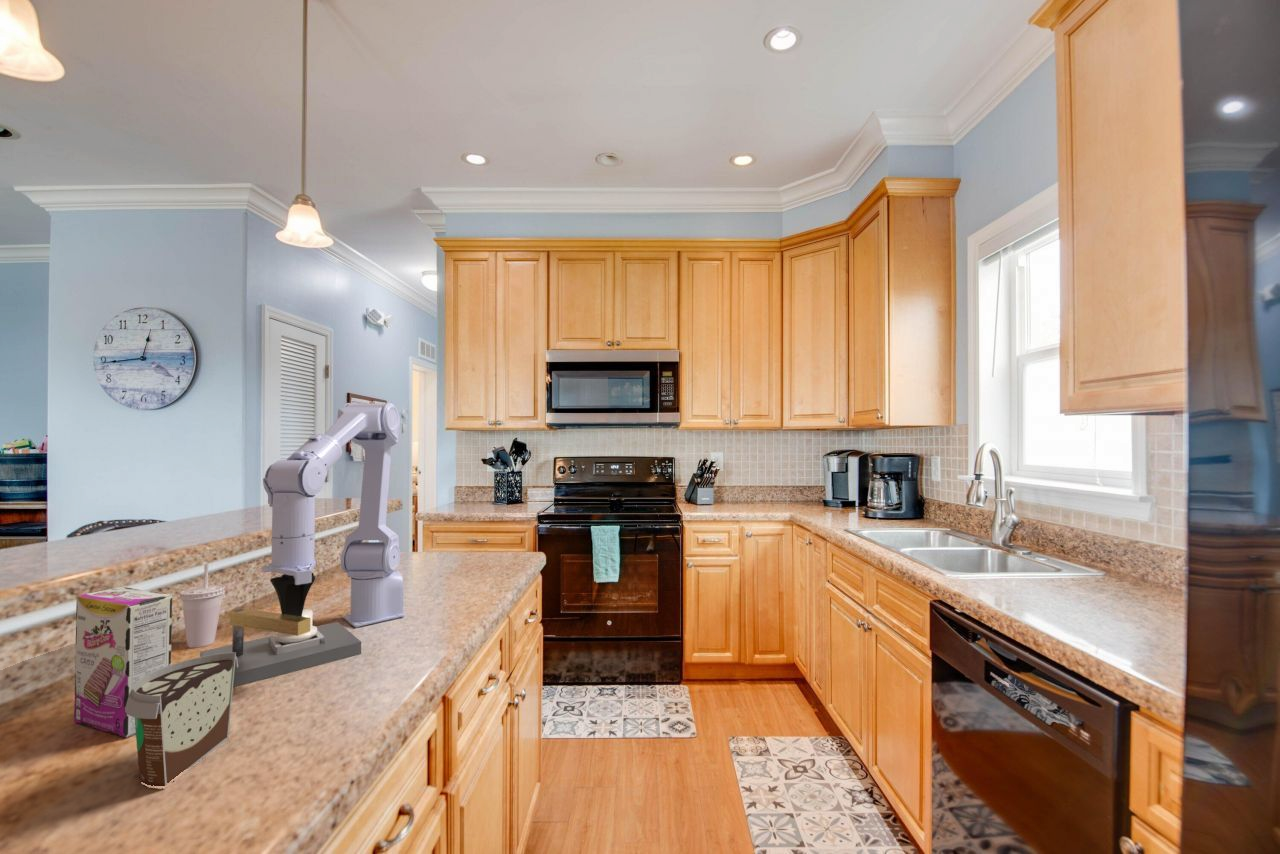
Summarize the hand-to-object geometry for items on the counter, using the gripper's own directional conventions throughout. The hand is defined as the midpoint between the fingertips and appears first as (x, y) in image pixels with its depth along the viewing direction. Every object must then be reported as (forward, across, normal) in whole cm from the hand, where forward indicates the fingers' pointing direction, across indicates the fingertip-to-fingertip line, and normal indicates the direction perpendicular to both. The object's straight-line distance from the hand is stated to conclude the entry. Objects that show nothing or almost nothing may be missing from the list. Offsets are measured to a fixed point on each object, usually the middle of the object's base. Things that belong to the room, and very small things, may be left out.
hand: (292, 621), depth 83 cm
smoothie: (+8, -24, -9) cm, 27 cm away
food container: (+8, +19, -15) cm, 25 cm away
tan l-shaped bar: (+5, 0, -3) cm, 6 cm away
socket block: (+8, -6, 0) cm, 10 cm away
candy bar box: (+8, +3, -19) cm, 21 cm away
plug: (+6, -6, +2) cm, 9 cm away
